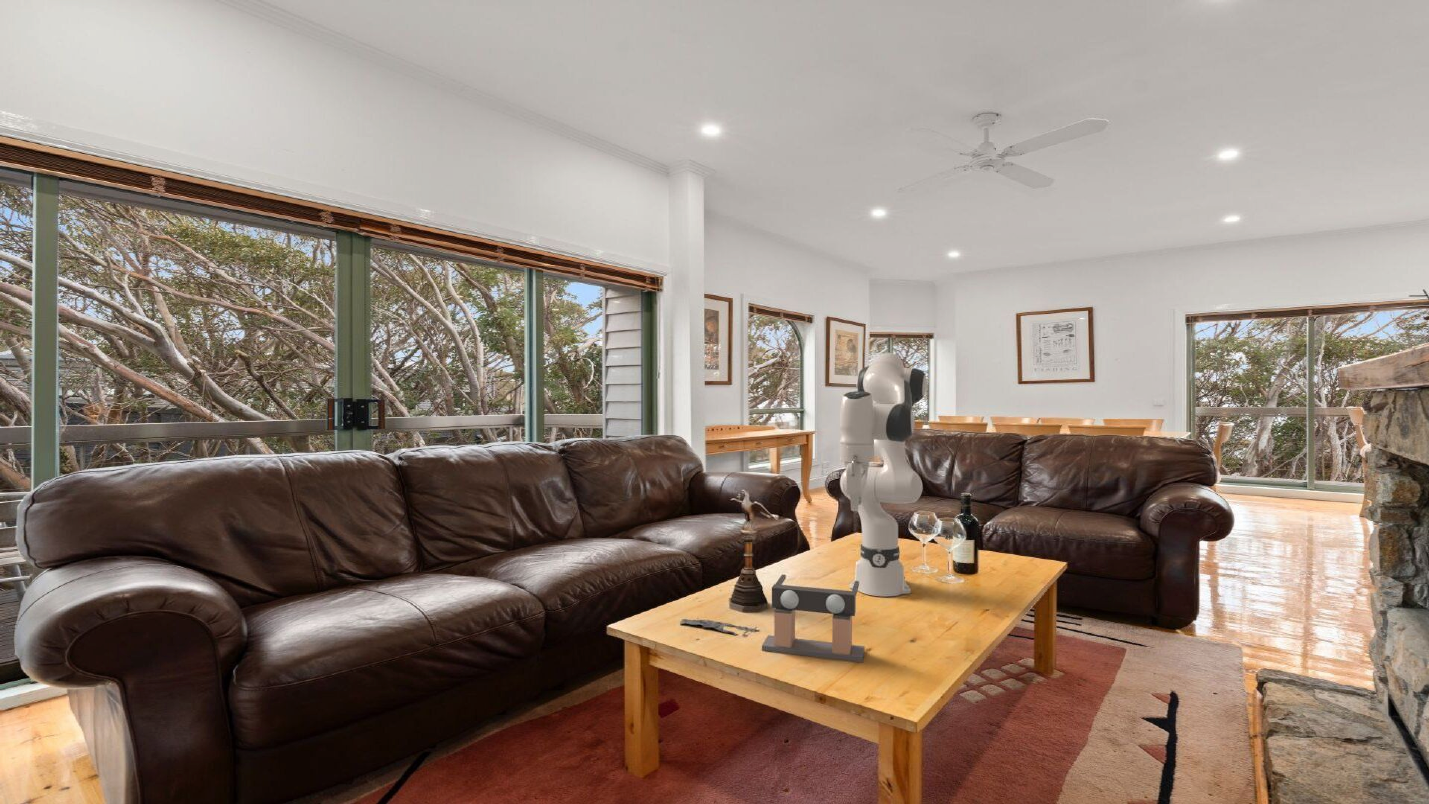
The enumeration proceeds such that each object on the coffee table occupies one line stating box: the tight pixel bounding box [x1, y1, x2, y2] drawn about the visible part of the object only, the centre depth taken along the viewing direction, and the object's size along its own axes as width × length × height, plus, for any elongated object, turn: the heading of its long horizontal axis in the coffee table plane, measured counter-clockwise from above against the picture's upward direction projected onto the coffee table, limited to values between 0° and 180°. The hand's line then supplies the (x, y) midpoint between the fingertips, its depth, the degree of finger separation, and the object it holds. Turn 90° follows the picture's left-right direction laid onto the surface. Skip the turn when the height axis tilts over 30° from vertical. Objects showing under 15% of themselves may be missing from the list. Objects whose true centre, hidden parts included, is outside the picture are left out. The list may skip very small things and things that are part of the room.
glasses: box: [771, 574, 859, 617], centre depth 164 cm, size 14×20×5 cm
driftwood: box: [679, 617, 758, 637], centre depth 176 cm, size 21×7×2 cm, turn 62°
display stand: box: [761, 608, 866, 663], centre depth 160 cm, size 7×24×10 cm, turn 73°
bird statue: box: [728, 481, 780, 613], centre depth 195 cm, size 17×13×35 cm
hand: (856, 507), depth 170 cm, fingers open, 8 cm apart
